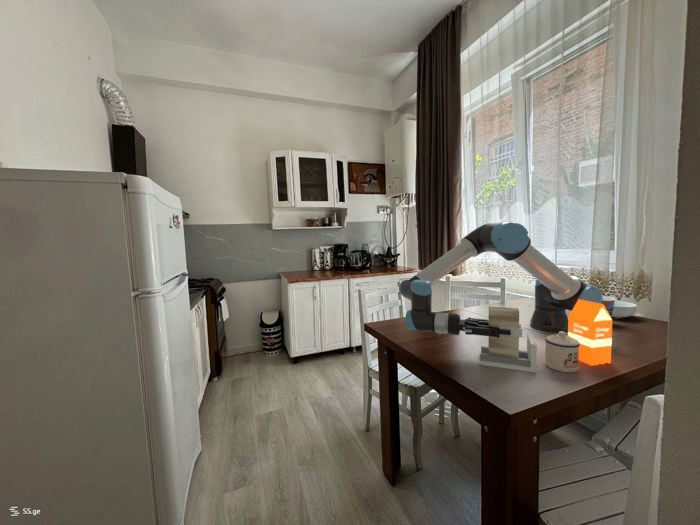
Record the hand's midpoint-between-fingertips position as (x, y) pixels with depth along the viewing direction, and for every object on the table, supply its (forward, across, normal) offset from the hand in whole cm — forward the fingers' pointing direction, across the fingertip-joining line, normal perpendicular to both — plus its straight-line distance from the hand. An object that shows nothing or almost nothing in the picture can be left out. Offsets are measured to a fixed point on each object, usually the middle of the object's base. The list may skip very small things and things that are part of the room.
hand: (521, 330), depth 97 cm
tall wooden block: (-5, 0, -9) cm, 10 cm away
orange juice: (+21, -12, -12) cm, 27 cm away
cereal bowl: (+47, -78, -12) cm, 92 cm away
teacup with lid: (+12, -3, -12) cm, 17 cm away
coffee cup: (+38, -64, -12) cm, 75 cm away
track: (-4, 0, -11) cm, 12 cm away
